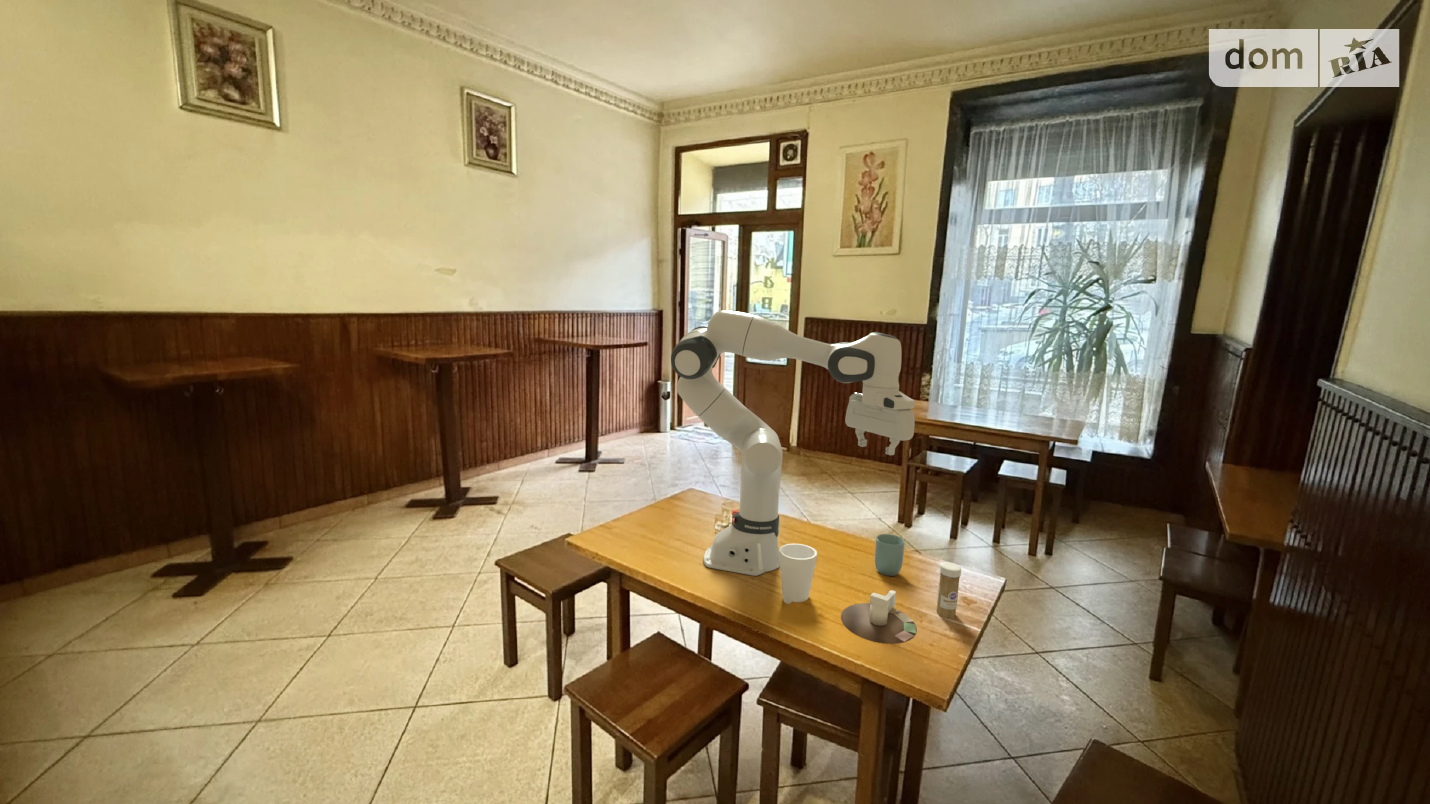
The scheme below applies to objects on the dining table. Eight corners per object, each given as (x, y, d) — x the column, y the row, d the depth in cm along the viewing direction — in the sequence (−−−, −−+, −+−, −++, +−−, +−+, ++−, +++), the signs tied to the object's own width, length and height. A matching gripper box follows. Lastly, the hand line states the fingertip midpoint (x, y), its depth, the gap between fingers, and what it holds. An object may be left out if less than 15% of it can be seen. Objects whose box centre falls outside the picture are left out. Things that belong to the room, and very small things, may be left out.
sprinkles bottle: (945, 624, 132) (951, 571, 130) (931, 615, 137) (936, 563, 134) (959, 620, 134) (965, 568, 132) (945, 611, 138) (950, 560, 136)
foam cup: (813, 611, 137) (816, 561, 134) (775, 607, 138) (778, 557, 136) (813, 592, 146) (816, 545, 144) (778, 588, 147) (780, 541, 145)
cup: (903, 580, 154) (906, 546, 152) (874, 577, 155) (877, 543, 154) (900, 568, 161) (903, 535, 160) (872, 565, 163) (874, 532, 161)
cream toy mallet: (883, 627, 128) (885, 602, 127) (866, 621, 130) (868, 597, 129) (900, 608, 136) (902, 584, 135) (884, 602, 139) (886, 579, 138)
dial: (843, 644, 123) (844, 638, 123) (837, 604, 140) (837, 599, 140) (923, 652, 121) (924, 646, 121) (907, 611, 138) (908, 606, 138)
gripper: (841, 392, 149) (838, 442, 152) (902, 404, 132) (897, 461, 134) (859, 391, 153) (855, 440, 155) (920, 402, 135) (915, 458, 138)
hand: (875, 450), depth 144 cm, fingers open, 8 cm apart
